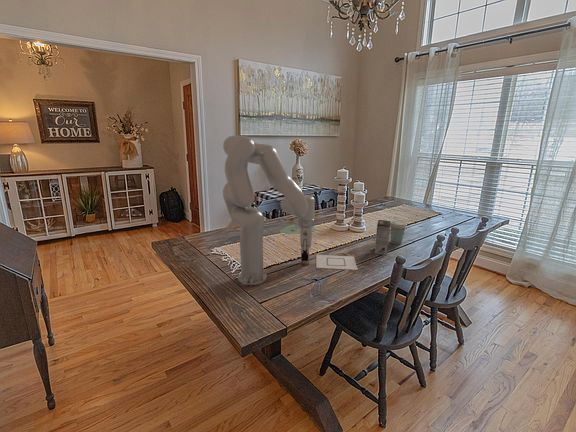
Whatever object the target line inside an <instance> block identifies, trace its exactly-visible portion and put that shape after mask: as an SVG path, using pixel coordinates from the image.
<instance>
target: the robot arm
mask: <svg viewBox="0 0 576 432" xmlns="http://www.w3.org/2000/svg"><path fill="white" fill-rule="evenodd" d="M222 147H223V151H224V153H225V155H227V157H226V160H225V162H224V173H225V177H226V183H225V184H224V186H223V189H222V195H223V196H222V197H223V199H224V203H225V205H226V208H227V211H228V214H229V217H230V218H231V220H232V222H233V223H234V224H236V225H237V226H239V227H240V228H241V231H240V236H239V249H240V273H239V274H238V275H237V281H238V282H239V283H240V284H242V285H245V286H257V285H261V284H263V283H264V282H266V281H267V280H268V275H267V273H266V272H265V271H264V243H263V241H264V239H263V238H264V237H263V236H264V228H265V223H266V222H265V217H264V214H263V213H262V211H260V210H259V209H257V208H255V207H253V206H252V205H253V203H254V201H255V193H254V189H253V185H252V182H251V179H250V176H249V172H248V165H249V163H251V164H255V165H258V166H260V168H261V169H262V171H263V173H264V175H265V176H266V178H267V180H268V182H269V184H270V185H271V187H273V189H274V190H276V191H277V192H279V193H280V194H281V195H283V196H284V198H282V199H281V201H280V204H279V205H280V209H281V210H282V212H284V213H286V214H289V215H292V216H294V217H296V218H297V220H298V221H297V223H298V226H300V234H299V235H300V236H299V237H300V240H299V241H300V248H301V247H302V261H308V247H310V249H311V248H312V237H313V236H312V235H313V234H312V233H313V232H312V227H313V226H315V205H316V203H315V202H316V201H315V197H314V196H312V195H307V194H306V195H305V193H304V192H303V191H302V189H301V187H300V186H298V184H297V183H296V182H295V180H293V178H292V177H291V176H290V175H289V174H288V171H287V168H286V167H285V166H284V164H283V161H282V159H281V157H280V155H279V153H278V151H277V149H276V148H275V147H274V146H273V145H270V144H266V143H265V144H261V143H257V142H255V141H254V140H253V139H252V138H251V137H249V136H245V135H230V136H227V137H226V138H225V140H224V141H223V145H222ZM303 245H304V246H303ZM303 248H304V249H303ZM306 248H307V249H306Z"/></svg>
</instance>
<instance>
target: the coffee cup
mask: <svg viewBox="0 0 576 432" xmlns="http://www.w3.org/2000/svg"><path fill="white" fill-rule="evenodd" d="M406 227H407V226H406V223H405V222H404V221H399V220H393V221H391V224H390V243H391V244H392V245H397V246H398V245H402V242H403V239H404V234H405V230H406Z"/></svg>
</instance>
